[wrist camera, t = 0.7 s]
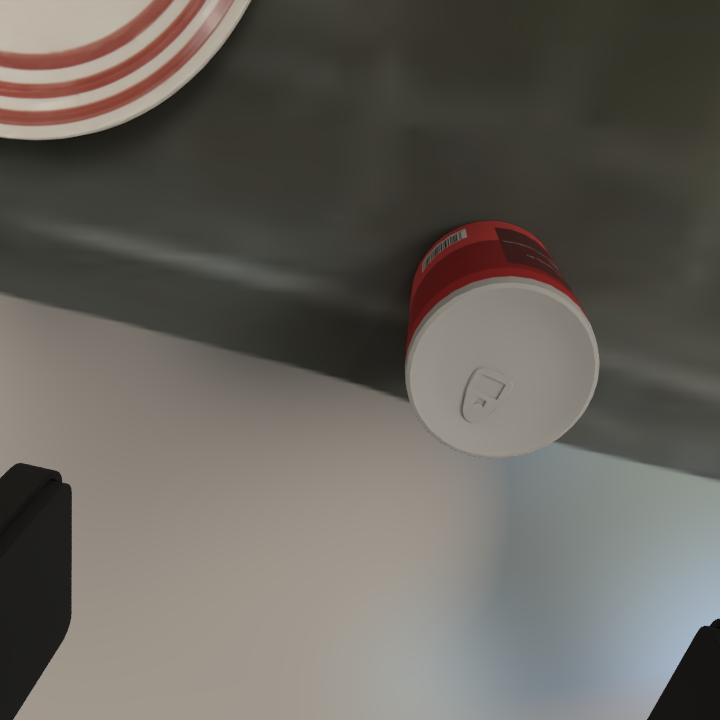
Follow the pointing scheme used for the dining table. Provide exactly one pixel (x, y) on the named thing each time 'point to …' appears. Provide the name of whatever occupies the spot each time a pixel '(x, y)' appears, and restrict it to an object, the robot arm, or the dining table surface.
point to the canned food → (496, 344)
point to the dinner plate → (101, 59)
